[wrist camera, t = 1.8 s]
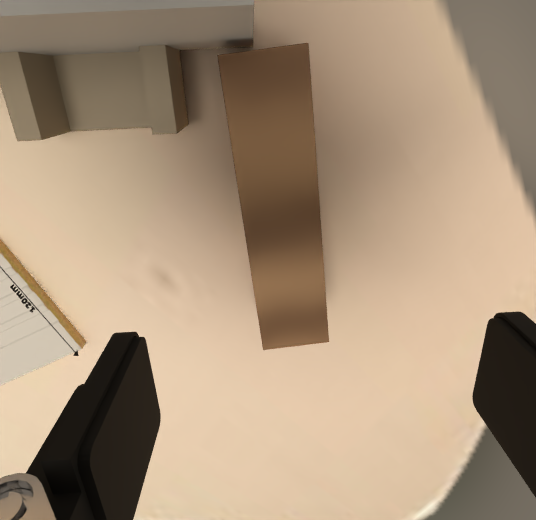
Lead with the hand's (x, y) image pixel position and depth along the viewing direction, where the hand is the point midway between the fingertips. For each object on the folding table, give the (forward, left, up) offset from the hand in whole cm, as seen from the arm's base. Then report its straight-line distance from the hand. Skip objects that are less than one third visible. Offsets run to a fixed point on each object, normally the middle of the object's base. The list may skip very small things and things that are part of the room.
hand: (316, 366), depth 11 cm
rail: (0, 0, -17) cm, 17 cm away
